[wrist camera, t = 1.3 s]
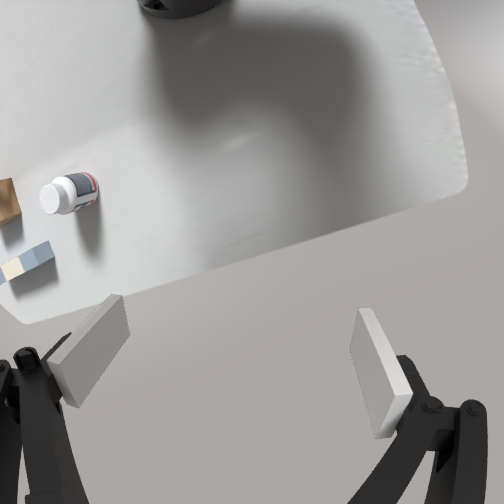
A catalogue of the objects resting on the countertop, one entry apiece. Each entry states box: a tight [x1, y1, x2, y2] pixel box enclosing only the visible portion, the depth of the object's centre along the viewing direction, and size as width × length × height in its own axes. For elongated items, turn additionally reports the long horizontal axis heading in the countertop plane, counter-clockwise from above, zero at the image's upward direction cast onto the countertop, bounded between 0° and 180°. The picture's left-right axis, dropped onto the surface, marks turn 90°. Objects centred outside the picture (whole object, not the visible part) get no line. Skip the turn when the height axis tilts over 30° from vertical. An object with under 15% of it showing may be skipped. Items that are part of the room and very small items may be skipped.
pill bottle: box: [39, 172, 98, 215], centre depth 36 cm, size 5×5×9 cm
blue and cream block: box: [0, 241, 54, 285], centre depth 43 cm, size 3×16×5 cm, turn 109°
